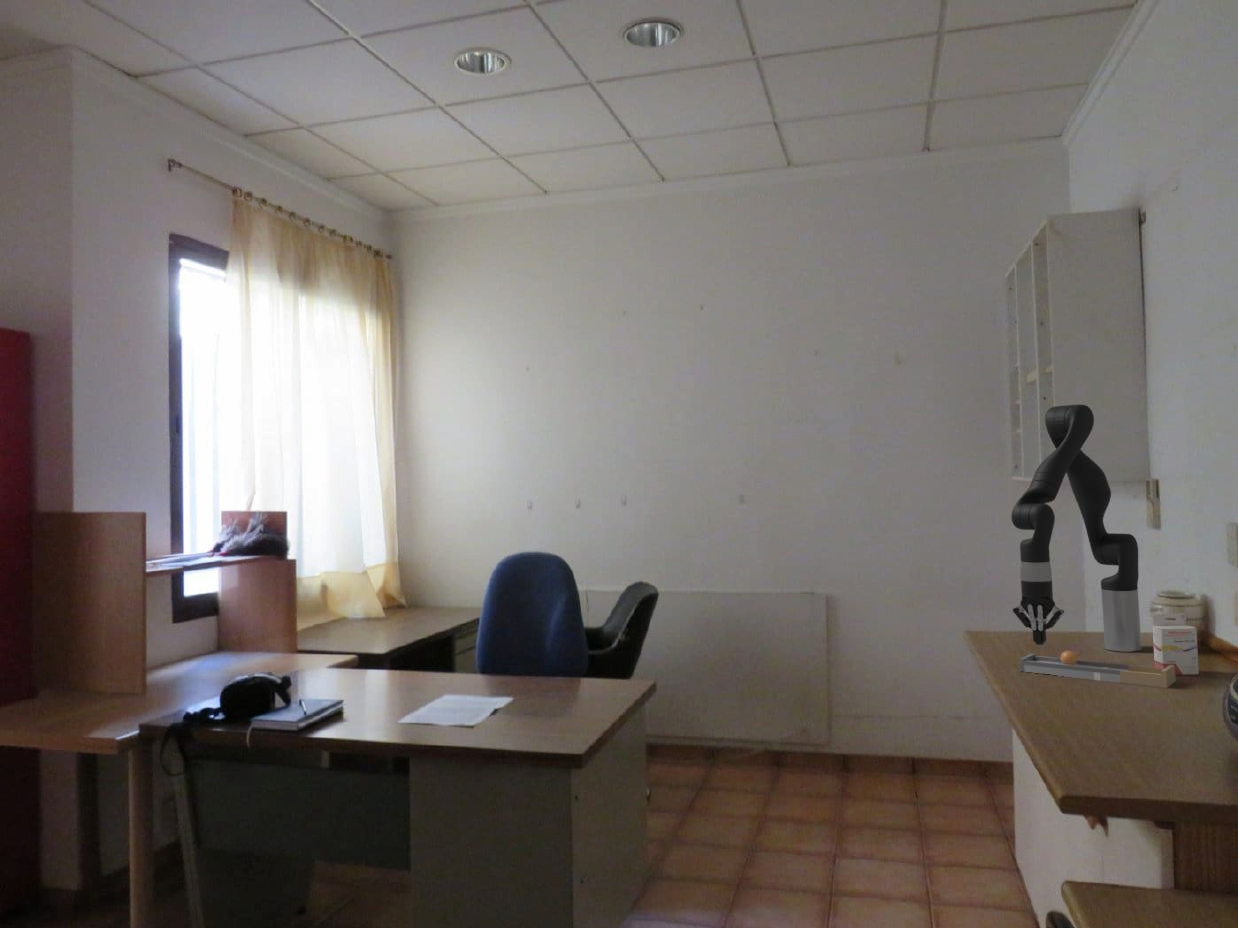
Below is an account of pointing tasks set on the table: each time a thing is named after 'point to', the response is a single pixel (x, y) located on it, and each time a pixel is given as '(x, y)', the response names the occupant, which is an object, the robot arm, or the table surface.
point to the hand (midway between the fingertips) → (1039, 644)
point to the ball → (1069, 658)
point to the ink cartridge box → (1175, 643)
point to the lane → (1101, 671)
